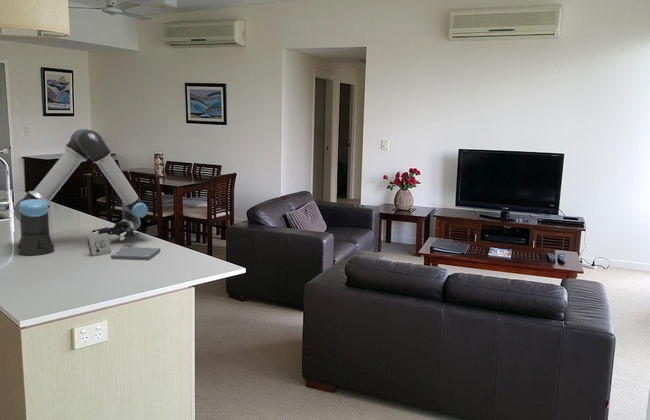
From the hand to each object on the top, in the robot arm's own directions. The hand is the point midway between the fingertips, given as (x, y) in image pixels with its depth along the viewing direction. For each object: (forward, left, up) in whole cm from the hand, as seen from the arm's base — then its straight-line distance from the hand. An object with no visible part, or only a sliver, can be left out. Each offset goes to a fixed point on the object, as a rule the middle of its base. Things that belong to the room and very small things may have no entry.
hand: (106, 237), depth 263 cm
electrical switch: (0, -8, -6) cm, 10 cm away
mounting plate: (+17, -8, -6) cm, 20 cm away
